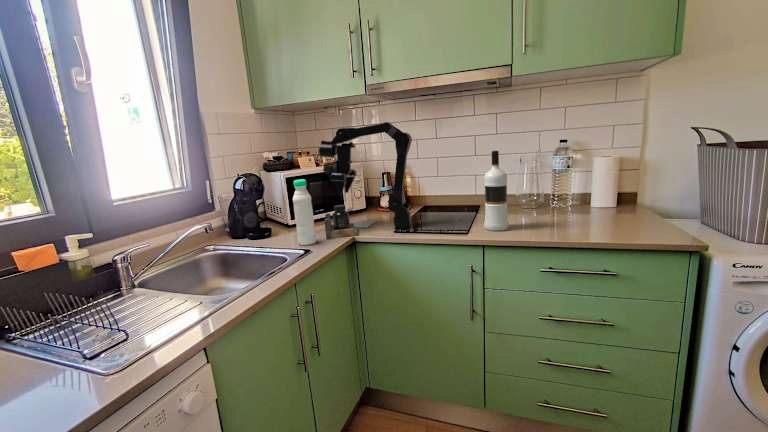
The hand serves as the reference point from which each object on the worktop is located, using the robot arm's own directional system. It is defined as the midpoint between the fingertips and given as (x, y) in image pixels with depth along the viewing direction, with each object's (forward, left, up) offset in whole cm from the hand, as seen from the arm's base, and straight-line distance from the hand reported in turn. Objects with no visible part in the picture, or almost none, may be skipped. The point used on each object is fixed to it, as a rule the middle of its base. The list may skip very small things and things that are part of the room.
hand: (343, 194), depth 162 cm
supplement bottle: (-1, +8, -16) cm, 18 cm away
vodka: (-63, +1, -16) cm, 65 cm away
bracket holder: (-1, +8, -15) cm, 18 cm away
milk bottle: (+8, +22, -16) cm, 28 cm away
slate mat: (-3, -7, -15) cm, 17 cm away
